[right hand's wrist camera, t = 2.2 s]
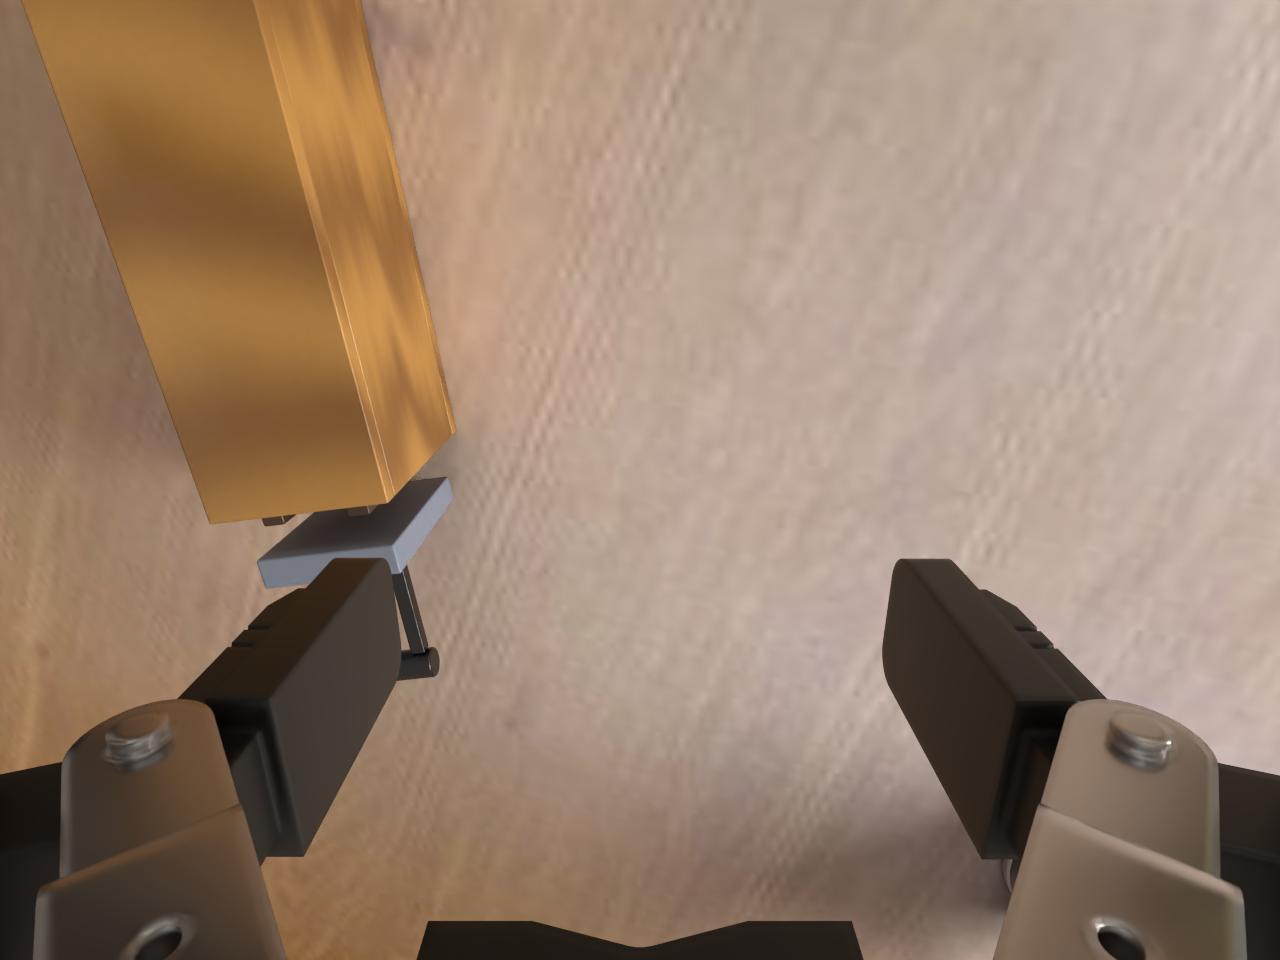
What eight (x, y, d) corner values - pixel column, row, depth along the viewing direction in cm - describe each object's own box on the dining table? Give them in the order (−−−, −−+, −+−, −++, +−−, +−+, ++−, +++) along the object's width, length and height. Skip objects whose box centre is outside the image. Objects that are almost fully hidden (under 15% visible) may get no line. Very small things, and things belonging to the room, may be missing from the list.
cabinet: (457, 430, 33) (388, 503, 24) (324, 447, 34) (209, 525, 25) (351, -43, 27) (207, -178, 18) (189, -18, 27) (-31, -138, 18)
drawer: (479, 608, 35) (436, 706, 28) (377, 619, 36) (309, 719, 28) (355, 76, 28) (252, 20, 20) (226, 95, 28) (78, 47, 20)
